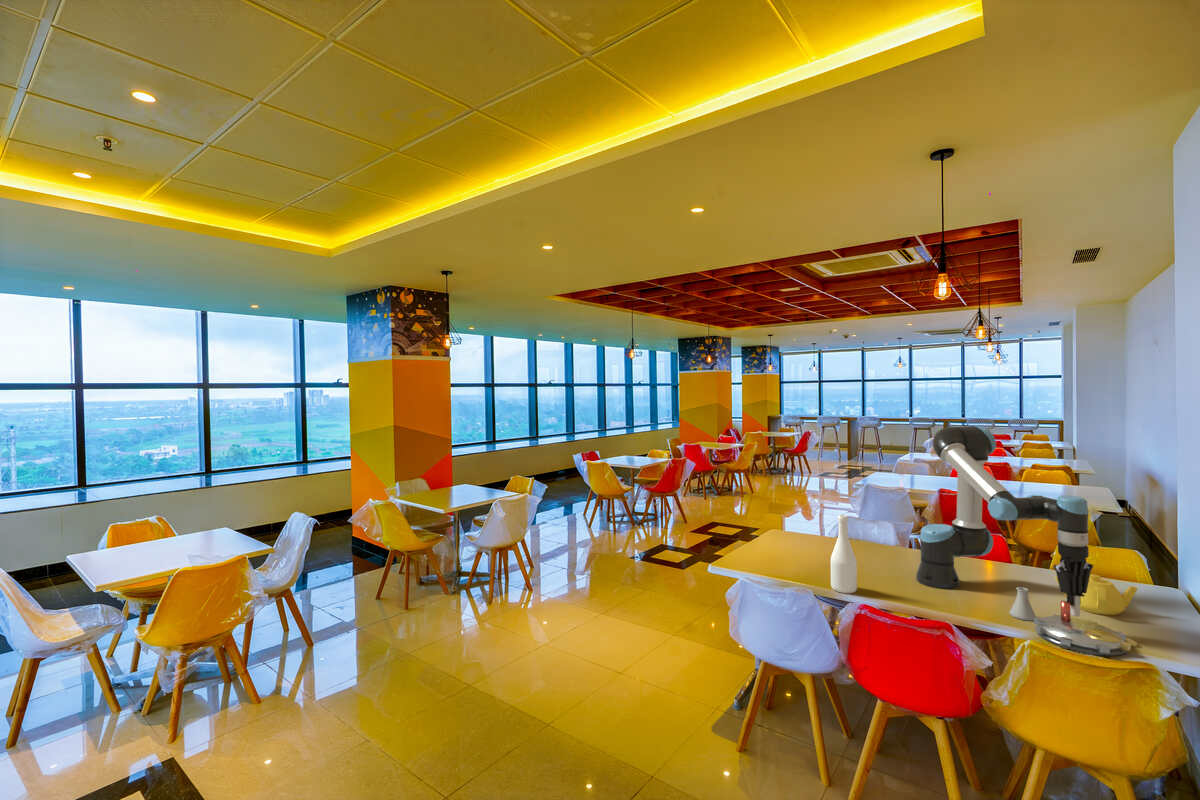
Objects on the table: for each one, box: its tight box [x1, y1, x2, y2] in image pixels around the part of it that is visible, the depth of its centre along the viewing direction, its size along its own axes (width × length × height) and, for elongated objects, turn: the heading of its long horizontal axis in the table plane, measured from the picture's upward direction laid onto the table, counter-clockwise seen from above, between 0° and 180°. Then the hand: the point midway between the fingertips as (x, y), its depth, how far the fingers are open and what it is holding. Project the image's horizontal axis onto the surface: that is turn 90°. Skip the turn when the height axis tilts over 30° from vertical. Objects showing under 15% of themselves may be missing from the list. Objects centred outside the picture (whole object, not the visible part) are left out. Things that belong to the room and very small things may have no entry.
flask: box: [1008, 586, 1036, 622], centre depth 183 cm, size 7×7×10 cm
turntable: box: [1033, 600, 1132, 653], centre depth 166 cm, size 23×23×8 cm
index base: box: [1036, 632, 1138, 658], centre depth 165 cm, size 24×21×1 cm
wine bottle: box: [830, 514, 858, 594], centre depth 211 cm, size 10×10×30 cm
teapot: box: [1054, 573, 1138, 616], centre depth 190 cm, size 17×17×12 cm
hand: (1073, 614), depth 173 cm, fingers closed
